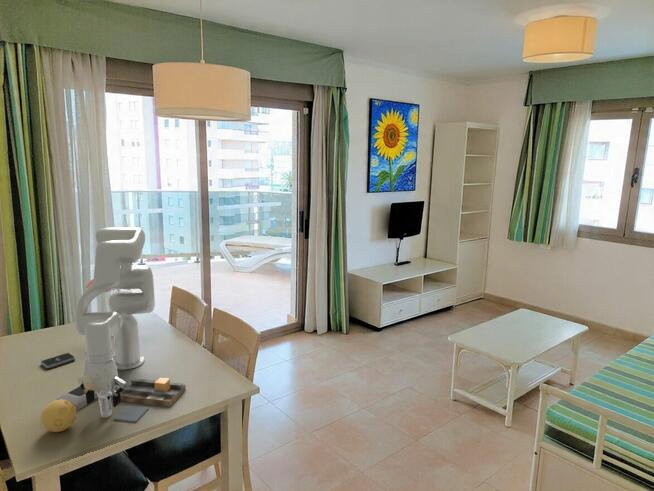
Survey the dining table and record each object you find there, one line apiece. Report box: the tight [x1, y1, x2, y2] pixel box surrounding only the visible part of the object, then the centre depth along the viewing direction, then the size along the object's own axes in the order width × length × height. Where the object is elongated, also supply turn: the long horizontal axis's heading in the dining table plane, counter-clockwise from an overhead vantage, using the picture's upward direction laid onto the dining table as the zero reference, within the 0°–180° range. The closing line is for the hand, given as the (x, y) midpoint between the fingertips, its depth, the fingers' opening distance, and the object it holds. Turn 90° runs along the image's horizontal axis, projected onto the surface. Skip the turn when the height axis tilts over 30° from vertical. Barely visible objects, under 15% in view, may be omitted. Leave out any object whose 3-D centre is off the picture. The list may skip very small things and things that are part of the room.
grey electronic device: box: [56, 384, 100, 411], centre depth 164 cm, size 10×4×15 cm
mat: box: [113, 405, 150, 423], centre depth 154 cm, size 8×8×1 cm
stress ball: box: [40, 399, 77, 433], centre depth 144 cm, size 10×10×10 cm
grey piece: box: [120, 377, 187, 407], centre depth 167 cm, size 20×12×4 cm, turn 81°
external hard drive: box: [40, 352, 76, 371], centre depth 189 cm, size 7×11×2 cm, turn 141°
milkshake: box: [96, 391, 113, 419], centre depth 153 cm, size 5×5×10 cm
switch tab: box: [154, 377, 171, 391], centre depth 165 cm, size 4×4×4 cm
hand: (103, 403), depth 152 cm, fingers open, 9 cm apart
